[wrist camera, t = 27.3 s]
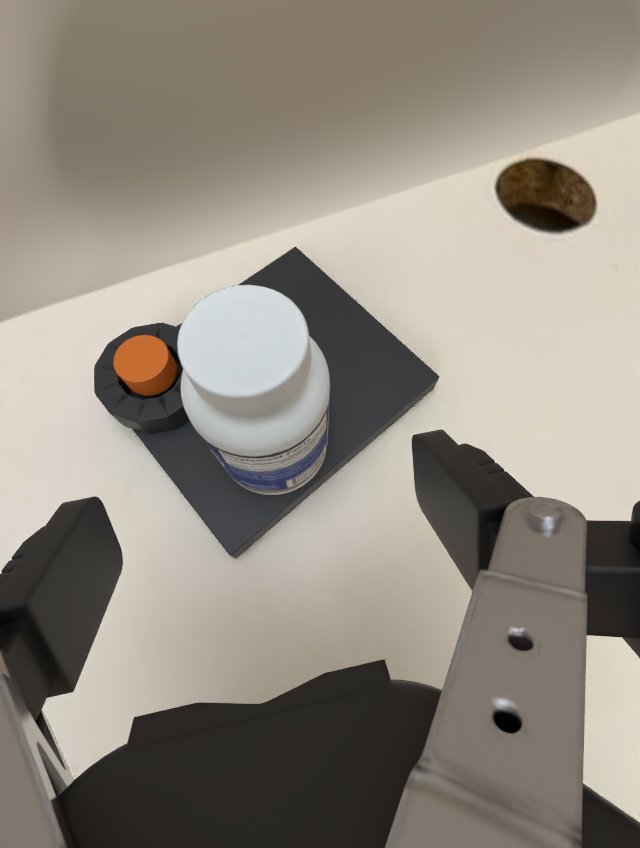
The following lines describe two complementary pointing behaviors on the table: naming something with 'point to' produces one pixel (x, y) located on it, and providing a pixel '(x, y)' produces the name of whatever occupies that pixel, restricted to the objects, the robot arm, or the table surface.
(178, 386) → the scale
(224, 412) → the pill bottle
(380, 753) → the robot arm
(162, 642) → the table surface
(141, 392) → the button
